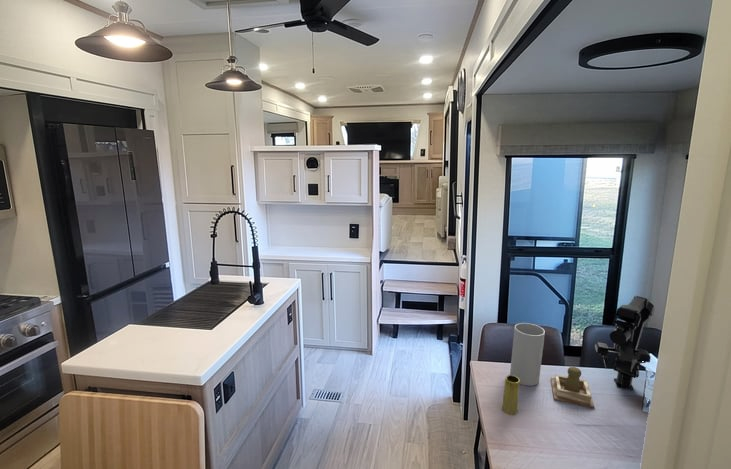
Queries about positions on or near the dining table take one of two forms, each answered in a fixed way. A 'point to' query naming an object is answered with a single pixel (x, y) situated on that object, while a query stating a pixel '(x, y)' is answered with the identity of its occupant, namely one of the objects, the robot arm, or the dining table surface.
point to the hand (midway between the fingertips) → (618, 370)
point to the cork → (573, 380)
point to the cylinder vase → (527, 353)
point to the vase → (511, 395)
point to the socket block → (571, 392)
